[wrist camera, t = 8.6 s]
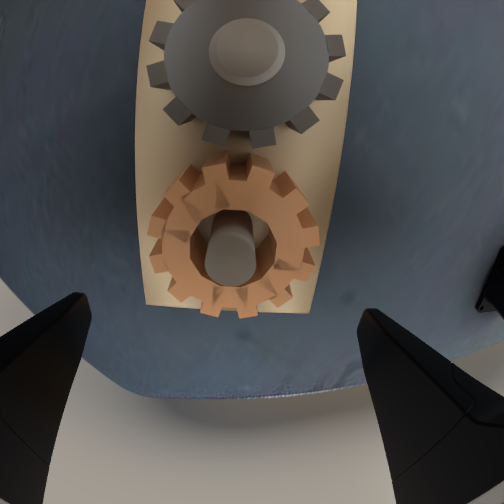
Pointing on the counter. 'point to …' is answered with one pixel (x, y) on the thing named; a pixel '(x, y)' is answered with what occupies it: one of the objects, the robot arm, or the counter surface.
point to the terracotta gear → (233, 198)
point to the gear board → (284, 156)
